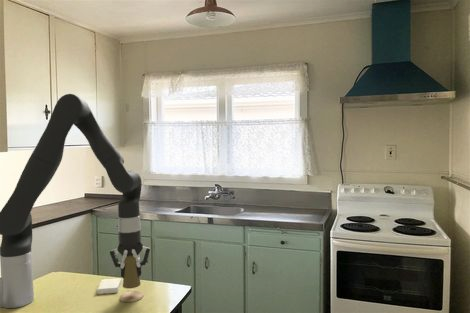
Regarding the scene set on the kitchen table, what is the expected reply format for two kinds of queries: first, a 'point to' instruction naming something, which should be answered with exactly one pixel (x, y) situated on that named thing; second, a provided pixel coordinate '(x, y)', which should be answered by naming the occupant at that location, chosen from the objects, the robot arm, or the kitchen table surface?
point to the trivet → (131, 296)
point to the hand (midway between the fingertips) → (131, 277)
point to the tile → (109, 286)
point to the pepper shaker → (131, 273)
